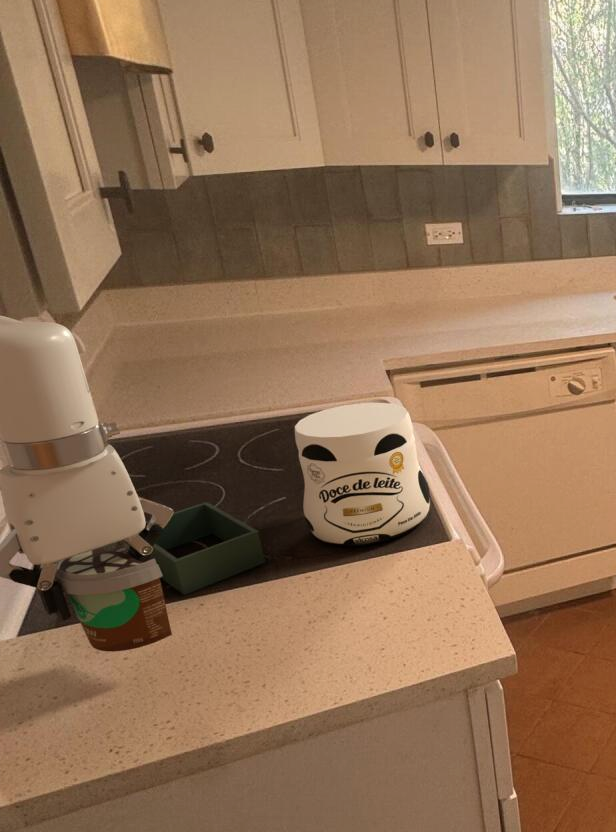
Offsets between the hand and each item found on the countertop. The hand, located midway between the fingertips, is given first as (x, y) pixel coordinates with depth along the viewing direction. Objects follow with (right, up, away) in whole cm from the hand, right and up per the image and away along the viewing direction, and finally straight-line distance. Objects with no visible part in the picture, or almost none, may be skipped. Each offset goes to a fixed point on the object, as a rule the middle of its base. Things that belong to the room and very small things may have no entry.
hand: (104, 598), depth 84 cm
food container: (0, -5, +2) cm, 5 cm away
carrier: (-8, -1, +26) cm, 27 cm away
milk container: (+12, +3, +36) cm, 38 cm away
